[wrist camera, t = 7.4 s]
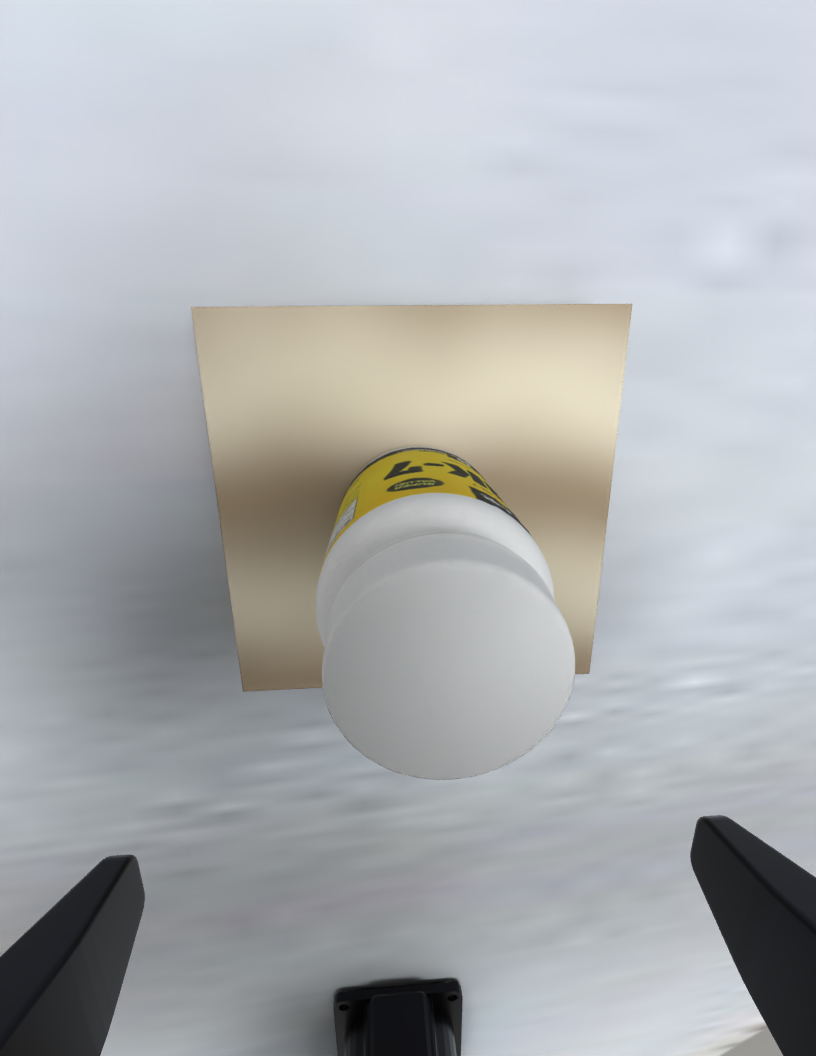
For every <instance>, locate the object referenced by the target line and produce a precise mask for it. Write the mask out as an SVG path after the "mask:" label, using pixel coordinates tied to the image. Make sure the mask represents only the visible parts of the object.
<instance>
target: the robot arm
mask: <svg viewBox="0 0 816 1056" xmlns="http://www.w3.org/2000/svg"><path fill="white" fill-rule="evenodd" d="M690 857H691V864H692V867H693V870H694V873H695V875H696V877H697V880H698V882H699V884H700V886H701V889H702V891H703V893H704V895H705V898H706V900H707V902H708V904H709V907H710V909H711V911H712V913H713V916H714V918H715V920H716V922H717V925H718V927H719V929H720V931H721V934H722V936H723V938H724V940H725V943H726V945H727V947H728V949H729V952H730V954H731V956H732V958H733V961H734V963H735V965H736V967H737V969H738V971H739V973H740V975H741V977H742V980H743V982H744V983H745V985H746V987H747V989H748V991H749V993H750V995H751V997H752V999H753V1001H754V1002H755V1004H756V1006H757V1008H758V1010H759V1012H760V1014H761V1015H762V1017H763V1019H764V1021H765V1023H766V1025H767V1026H768V1028H769V1030H770V1032H771V1034H772V1036H773V1037H774V1039H775V1041H776V1043H777V1045H778V1046H779V1048H780V1050H781V1052H782V1054H783V1056H816V877H814V876H813V875H811V874H810V873H808V872H807V871H806V870H804V869H803V868H801V867H800V866H798V865H797V864H795V863H794V862H792V861H791V860H790V859H788V858H787V857H785V856H784V855H782V854H781V853H779V852H778V851H776V850H775V849H774V848H772V847H771V846H769V845H768V844H766V843H765V842H763V841H762V840H760V839H759V838H758V837H756V836H755V835H753V834H752V833H750V832H749V831H747V830H746V829H744V828H743V827H742V826H740V825H739V824H737V823H736V822H734V821H733V820H731V819H730V818H728V817H726V816H722V815H717V816H703V817H700V818H699V819H698V821H697V823H696V828H695V833H694V838H693V843H692V848H691V853H690ZM144 901H145V893H144V887H143V883H142V878H141V874H140V869H139V865H138V861H137V858H136V857H135V856H134V855H117V856H109V857H106V858H105V859H103V860H102V861H101V862H100V863H99V864H98V865H96V866H95V867H94V868H93V869H92V870H91V871H90V872H89V873H88V874H87V875H86V876H85V877H84V878H83V879H82V880H81V881H80V882H79V883H78V884H76V885H75V886H74V887H73V888H72V889H71V890H70V891H69V892H68V893H67V894H66V895H65V896H64V897H63V898H62V899H61V900H60V901H59V902H57V903H56V904H55V905H54V906H53V907H52V908H51V909H50V910H49V911H48V912H47V913H46V914H45V915H44V916H43V917H42V918H41V919H40V920H39V921H37V922H36V923H35V924H34V925H33V926H32V927H31V928H30V929H29V930H28V931H27V932H26V933H25V934H24V935H23V936H22V937H21V938H20V939H18V940H17V941H16V942H15V943H14V944H13V945H12V946H11V947H10V948H9V949H8V950H7V951H6V952H5V953H4V954H3V955H2V956H1V957H0V1056H100V1054H101V1051H102V1049H103V1046H104V1043H105V1040H106V1037H107V1034H108V1031H109V1028H110V1025H111V1021H112V1018H113V1015H114V1011H115V1008H116V1004H117V1001H118V997H119V994H120V990H121V987H122V983H123V979H124V976H125V972H126V969H127V965H128V962H129V958H130V955H131V951H132V948H133V944H134V941H135V937H136V934H137V930H138V927H139V923H140V920H141V916H142V912H143V908H144ZM334 1017H335V1028H336V1039H337V1051H338V1056H461V1026H462V990H461V986H460V985H459V984H458V983H455V982H450V983H438V984H427V985H415V986H404V987H392V988H381V989H370V990H358V991H347V992H340V993H338V994H337V995H336V996H335V998H334Z"/></svg>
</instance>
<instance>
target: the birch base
mask: <svg viewBox="0 0 816 1056" xmlns="http://www.w3.org/2000/svg"><path fill="white" fill-rule="evenodd" d="M191 311H192V318H193V325H194V333H195V340H196V347H197V355H198V362H199V370H200V377H201V384H202V392H203V399H204V407H205V414H206V421H207V429H208V436H209V444H210V451H211V458H212V466H213V473H214V481H215V488H216V495H217V503H218V510H219V518H220V525H221V532H222V540H223V547H224V555H225V562H226V569H227V577H228V584H229V591H230V599H231V606H232V614H233V621H234V628H235V636H236V643H237V651H238V658H239V665H240V673H241V680H242V688H243V692H244V691H263V690H282V689H302V688H321V687H323V683H322V662H323V654H324V646H323V643H322V640H321V637H320V634H319V630H318V625H317V619H316V590H317V583H318V578H319V574H320V570H321V567H322V564H323V561H324V558H325V555H326V551H327V548H328V545H329V542H330V538H331V535H332V532H333V529H334V526H335V522H336V519H337V516H338V513H339V510H340V506H341V503H342V500H343V497H344V495H345V492H346V490H347V489H348V487H349V485H350V483H351V482H352V480H353V479H354V478H355V476H356V475H357V474H358V473H359V472H360V470H362V469H363V468H364V467H365V466H366V465H367V464H368V463H370V462H371V461H372V460H374V459H376V458H377V457H379V456H380V455H382V454H384V453H387V452H389V451H392V450H395V449H399V448H404V447H414V446H423V447H432V448H437V449H441V450H445V451H448V452H450V453H453V454H455V455H457V456H459V457H460V458H462V459H464V460H465V461H466V462H468V463H469V464H470V465H471V466H473V467H474V468H475V469H476V470H477V471H478V472H479V473H480V474H481V475H482V476H483V478H484V479H485V481H486V482H487V483H488V484H489V485H490V486H491V488H492V489H493V490H494V491H495V492H496V493H497V494H498V496H499V497H500V498H501V499H502V501H503V502H504V503H505V504H506V506H507V507H508V508H509V509H510V510H511V511H512V513H513V514H515V516H516V517H517V518H518V520H519V521H520V522H521V523H522V525H523V526H524V527H525V528H526V529H527V530H528V531H529V533H530V535H531V536H532V538H533V539H534V541H535V542H536V544H537V545H538V546H539V548H540V550H541V552H542V554H543V556H544V558H545V560H546V562H547V564H548V567H549V570H550V573H551V577H552V582H553V588H554V599H555V603H556V605H557V607H558V608H559V610H560V612H561V614H562V616H563V618H564V620H565V621H566V623H567V625H568V628H569V631H570V634H571V637H572V641H573V646H574V652H575V674H589V671H590V663H591V654H592V645H593V637H594V628H595V620H596V611H597V603H598V594H599V585H600V577H601V568H602V560H603V551H604V542H605V534H606V525H607V517H608V508H609V500H610V491H611V482H612V474H613V465H614V457H615V448H616V439H617V431H618V422H619V414H620V405H621V396H622V388H623V379H624V371H625V362H626V354H627V345H628V336H629V328H630V319H631V311H632V304H547V305H412V306H276V307H191Z"/></svg>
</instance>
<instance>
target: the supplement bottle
mask: <svg viewBox="0 0 816 1056" xmlns="http://www.w3.org/2000/svg"><path fill="white" fill-rule="evenodd" d="M316 619H317V625H318V630H319V634H320V637H321V640H322V643H323V646H324V654H323V662H322V683H323V692H324V696H325V699H326V703H327V706H328V710H329V712H330V714H331V716H332V719H333V720H334V722H335V724H336V726H337V727H338V728H339V730H340V731H341V733H342V734H343V735H344V737H345V738H346V739H347V740H348V741H349V742H350V743H351V745H352V746H354V747H355V748H356V749H357V750H358V751H359V752H361V753H362V754H363V755H364V756H366V757H367V758H369V759H370V760H372V761H374V762H376V763H377V764H379V765H381V766H383V767H385V768H386V769H389V770H392V771H394V772H397V773H401V774H405V775H409V776H413V777H417V778H424V779H435V780H450V779H460V778H466V777H472V776H477V775H480V774H484V773H487V772H489V771H492V770H495V769H498V768H500V767H502V766H505V765H507V764H509V763H511V762H513V761H515V760H516V759H518V758H519V757H521V756H522V755H524V754H525V753H527V752H528V751H530V750H531V749H532V748H533V747H534V746H535V745H537V744H538V743H539V742H540V741H541V740H542V739H543V738H544V737H545V736H546V735H547V734H548V733H549V731H550V730H551V729H552V728H553V727H554V725H555V724H556V722H557V721H558V719H559V718H560V716H561V715H562V713H563V710H564V709H565V707H566V705H567V703H568V700H569V698H570V694H571V690H572V687H573V682H574V676H575V652H574V646H573V641H572V637H571V634H570V631H569V628H568V625H567V623H566V621H565V620H564V618H563V616H562V614H561V612H560V610H559V608H558V607H557V605H556V603H555V599H554V588H553V582H552V577H551V573H550V570H549V567H548V564H547V562H546V560H545V558H544V556H543V554H542V552H541V550H540V548H539V546H538V545H537V544H536V542H535V541H534V539H533V538H532V536H531V535H530V533H529V531H528V530H527V529H526V528H525V527H524V526H523V525H522V523H521V522H520V521H519V520H518V518H517V517H516V516H515V514H513V513H512V511H511V510H510V509H509V508H508V507H507V506H506V504H505V503H504V502H503V501H502V499H501V498H500V497H499V496H498V494H497V493H496V492H495V491H494V490H493V489H492V488H491V486H490V485H489V484H488V483H487V482H486V481H485V479H484V478H483V476H482V475H481V474H480V473H479V472H478V471H477V470H476V469H475V468H474V467H473V466H471V465H470V464H469V463H468V462H466V461H465V460H464V459H462V458H460V457H459V456H457V455H455V454H453V453H450V452H448V451H445V450H441V449H437V448H432V447H423V446H414V447H404V448H399V449H395V450H392V451H389V452H387V453H384V454H382V455H380V456H379V457H377V458H376V459H374V460H372V461H371V462H370V463H368V464H367V465H366V466H365V467H364V468H363V469H362V470H360V472H359V473H358V474H357V475H356V476H355V478H354V479H353V480H352V482H351V483H350V485H349V487H348V489H347V490H346V492H345V495H344V497H343V500H342V503H341V506H340V510H339V513H338V516H337V519H336V522H335V526H334V529H333V532H332V535H331V538H330V542H329V545H328V548H327V551H326V555H325V558H324V561H323V564H322V567H321V570H320V574H319V578H318V583H317V590H316Z"/></svg>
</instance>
